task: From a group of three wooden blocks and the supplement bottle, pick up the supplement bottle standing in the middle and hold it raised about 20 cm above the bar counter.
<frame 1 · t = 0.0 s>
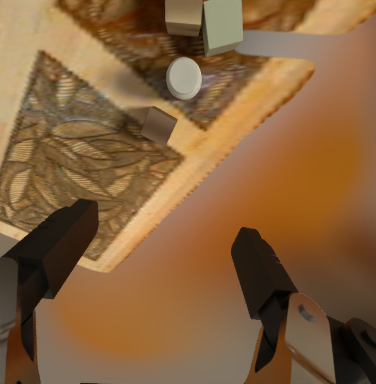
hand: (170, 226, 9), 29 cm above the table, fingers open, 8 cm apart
oak block: (183, 14, 26), on the table
sage block: (217, 34, 27), on the table
supplement bottle: (183, 83, 31), on the table
walnut block: (161, 124, 34), on the table
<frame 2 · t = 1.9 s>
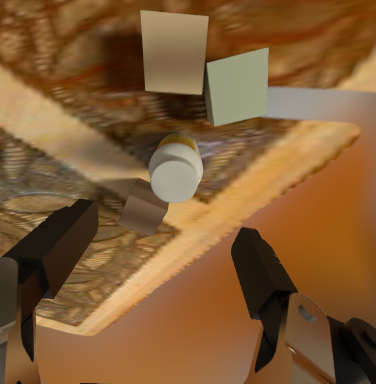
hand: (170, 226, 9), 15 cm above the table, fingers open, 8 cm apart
oak block: (176, 67, 18), on the table
sage block: (226, 92, 19), on the table
supplement bottle: (178, 151, 22), on the table
walnut block: (148, 197, 26), on the table
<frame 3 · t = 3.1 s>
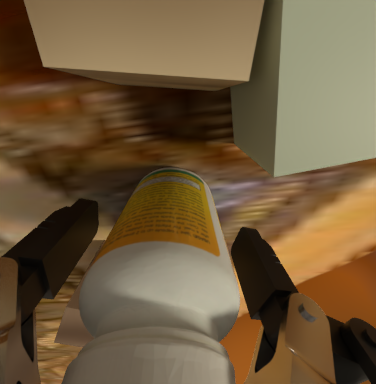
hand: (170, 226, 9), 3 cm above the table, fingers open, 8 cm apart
oak block: (166, 20, 7), on the table
sage block: (278, 84, 8), on the table
supplement bottle: (173, 198, 12), on the table
walnut block: (124, 266, 15), on the table
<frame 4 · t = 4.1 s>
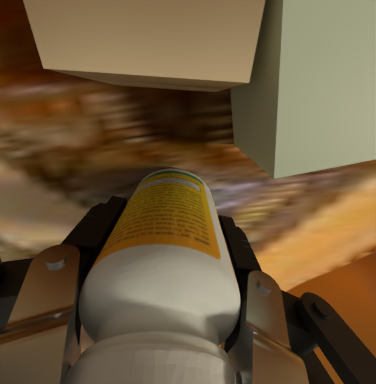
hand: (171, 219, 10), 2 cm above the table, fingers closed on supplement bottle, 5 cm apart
oak block: (166, 21, 7), on the table
sage block: (278, 85, 8), on the table
supplement bottle: (173, 200, 12), on the table, touching gripper
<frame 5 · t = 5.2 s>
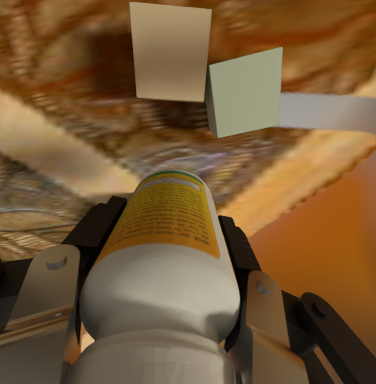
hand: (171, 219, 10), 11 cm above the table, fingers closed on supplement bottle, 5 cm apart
oak block: (174, 71, 16), on the table
sage block: (230, 99, 17), on the table
supplement bottle: (173, 199, 12), point 9 cm above the table, touching gripper
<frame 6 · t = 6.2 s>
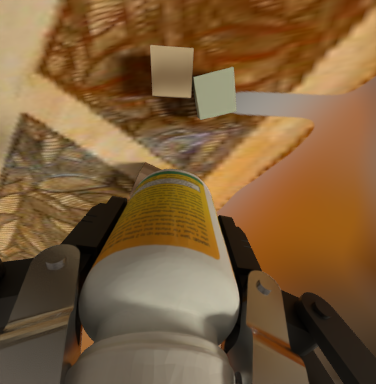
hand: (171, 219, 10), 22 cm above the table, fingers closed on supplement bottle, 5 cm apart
oak block: (173, 78, 25), on the table
sage block: (210, 96, 26), on the table
supplement bottle: (173, 200, 12), point 20 cm above the table, touching gripper
walnut block: (153, 178, 32), on the table
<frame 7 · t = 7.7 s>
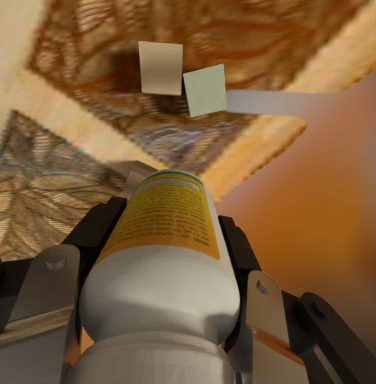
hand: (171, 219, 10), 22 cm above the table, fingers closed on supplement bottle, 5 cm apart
oak block: (165, 75, 24), on the table
sage block: (202, 93, 26), on the table
supplement bottle: (173, 200, 12), point 20 cm above the table, touching gripper
walnut block: (145, 177, 32), on the table
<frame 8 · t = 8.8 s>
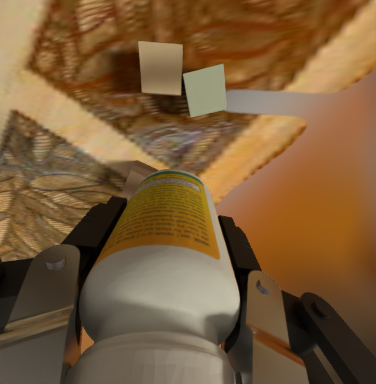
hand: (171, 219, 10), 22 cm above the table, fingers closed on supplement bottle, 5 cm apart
oak block: (165, 75, 24), on the table
sage block: (202, 93, 26), on the table
supplement bottle: (173, 200, 12), point 20 cm above the table, touching gripper
walnut block: (145, 177, 32), on the table
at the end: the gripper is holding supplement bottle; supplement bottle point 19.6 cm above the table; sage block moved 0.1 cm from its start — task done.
